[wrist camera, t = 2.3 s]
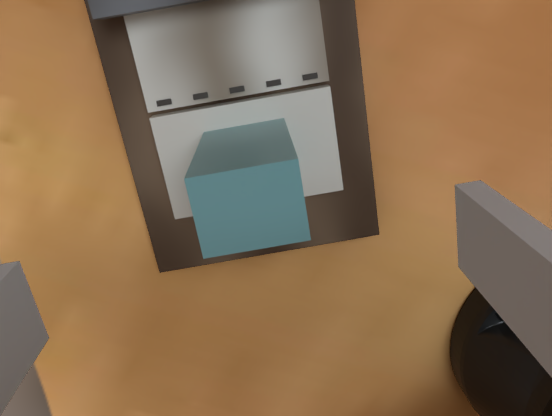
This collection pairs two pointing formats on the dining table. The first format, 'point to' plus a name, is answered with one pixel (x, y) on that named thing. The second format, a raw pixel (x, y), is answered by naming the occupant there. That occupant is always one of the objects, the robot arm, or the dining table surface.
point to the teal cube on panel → (249, 167)
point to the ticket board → (234, 96)
